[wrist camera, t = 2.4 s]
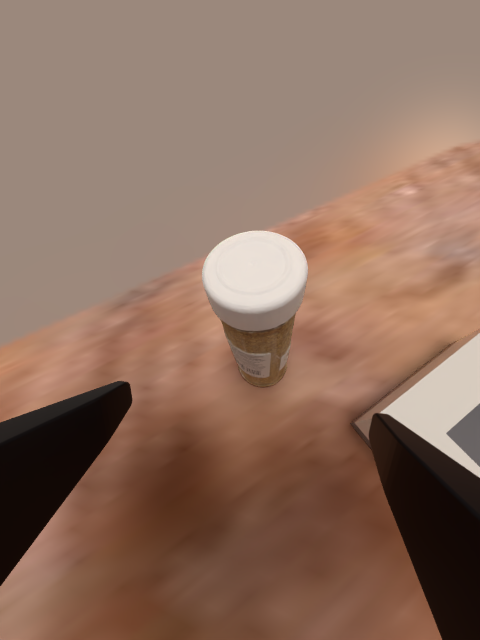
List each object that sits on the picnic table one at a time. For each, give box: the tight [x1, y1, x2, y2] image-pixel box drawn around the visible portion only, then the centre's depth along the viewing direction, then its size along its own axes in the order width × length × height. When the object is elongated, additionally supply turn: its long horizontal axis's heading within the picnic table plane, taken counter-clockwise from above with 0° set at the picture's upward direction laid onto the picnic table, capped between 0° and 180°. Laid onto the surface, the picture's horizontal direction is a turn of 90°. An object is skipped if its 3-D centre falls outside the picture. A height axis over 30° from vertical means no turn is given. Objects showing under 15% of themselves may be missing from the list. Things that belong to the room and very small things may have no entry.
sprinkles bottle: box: [202, 231, 308, 387], centre depth 15 cm, size 5×5×13 cm
